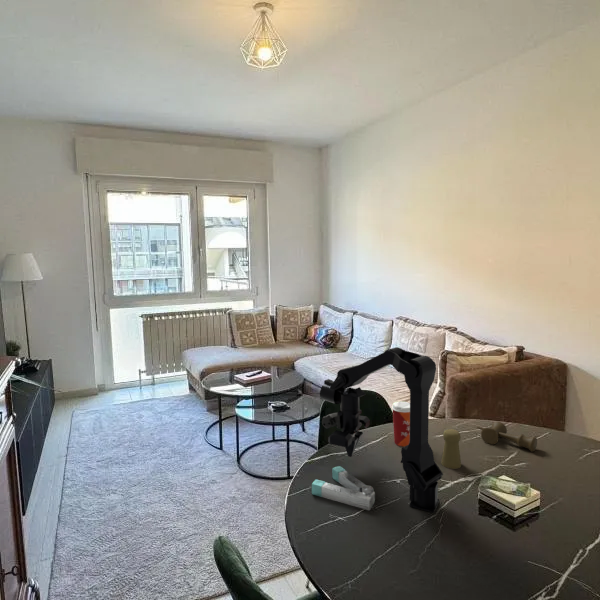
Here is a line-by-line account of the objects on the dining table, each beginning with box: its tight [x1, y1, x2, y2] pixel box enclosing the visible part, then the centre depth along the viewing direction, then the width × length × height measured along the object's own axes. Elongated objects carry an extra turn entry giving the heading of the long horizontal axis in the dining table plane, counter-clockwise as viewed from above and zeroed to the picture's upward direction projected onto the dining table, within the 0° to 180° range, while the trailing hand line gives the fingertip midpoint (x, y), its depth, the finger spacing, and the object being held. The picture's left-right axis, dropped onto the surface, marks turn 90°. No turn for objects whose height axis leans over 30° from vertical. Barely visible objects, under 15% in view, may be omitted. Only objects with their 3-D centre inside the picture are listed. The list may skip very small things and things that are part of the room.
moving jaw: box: [331, 465, 368, 492], centre depth 129 cm, size 13×3×3 cm, turn 31°
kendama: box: [476, 421, 538, 453], centre depth 155 cm, size 6×10×20 cm
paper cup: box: [391, 401, 410, 447], centre depth 156 cm, size 8×8×14 cm
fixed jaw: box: [311, 478, 376, 511], centre depth 123 cm, size 17×6×4 cm, turn 61°
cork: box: [440, 428, 462, 470], centre depth 140 cm, size 6×6×11 cm
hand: (350, 456), depth 138 cm, fingers closed
